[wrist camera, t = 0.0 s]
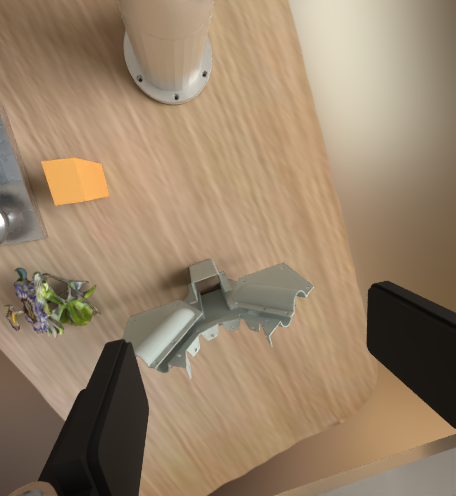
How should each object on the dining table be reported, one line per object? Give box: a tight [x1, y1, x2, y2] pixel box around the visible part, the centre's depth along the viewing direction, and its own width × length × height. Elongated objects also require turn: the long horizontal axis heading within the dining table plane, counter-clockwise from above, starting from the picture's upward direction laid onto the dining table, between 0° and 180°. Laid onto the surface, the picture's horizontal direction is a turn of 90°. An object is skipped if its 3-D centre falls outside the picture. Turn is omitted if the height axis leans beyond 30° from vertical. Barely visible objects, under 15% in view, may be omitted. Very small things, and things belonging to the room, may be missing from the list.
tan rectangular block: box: [41, 158, 109, 205], centre depth 35 cm, size 5×4×11 cm
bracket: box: [122, 259, 314, 379], centre depth 38 cm, size 28×7×20 cm, turn 106°
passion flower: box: [4, 268, 101, 338], centre depth 40 cm, size 11×11×12 cm
